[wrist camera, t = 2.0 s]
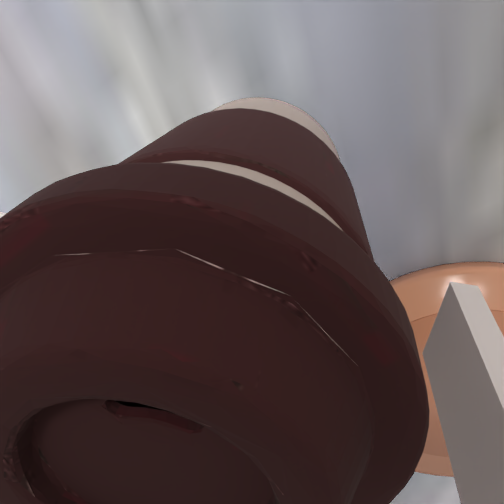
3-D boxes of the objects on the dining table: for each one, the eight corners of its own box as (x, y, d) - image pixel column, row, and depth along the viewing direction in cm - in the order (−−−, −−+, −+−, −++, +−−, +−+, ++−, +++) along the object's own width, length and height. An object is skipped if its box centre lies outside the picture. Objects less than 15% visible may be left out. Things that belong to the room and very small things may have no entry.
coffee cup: (269, 300, 24) (196, 661, 11) (117, 179, 21) (-194, 461, 9) (422, 174, 19) (599, 553, 6) (248, 1, 17) (-16, 55, 4)
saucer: (348, 239, 21) (349, 251, 20) (684, 289, 20) (701, 304, 19) (302, 436, 29) (301, 451, 28) (540, 481, 28) (548, 498, 27)
